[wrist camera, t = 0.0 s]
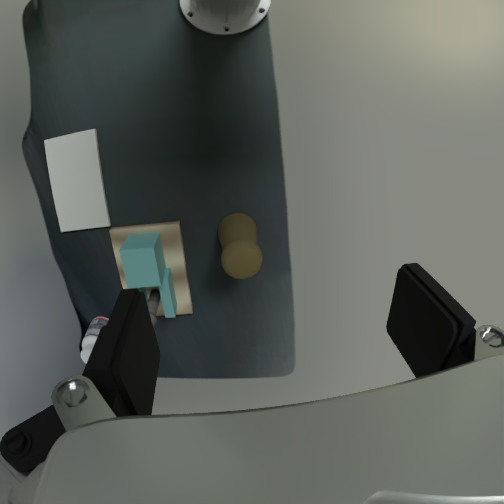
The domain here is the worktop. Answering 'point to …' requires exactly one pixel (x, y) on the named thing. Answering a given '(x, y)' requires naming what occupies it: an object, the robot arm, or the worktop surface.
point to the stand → (173, 259)
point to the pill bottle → (92, 336)
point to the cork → (239, 246)
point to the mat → (77, 181)
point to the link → (148, 268)
